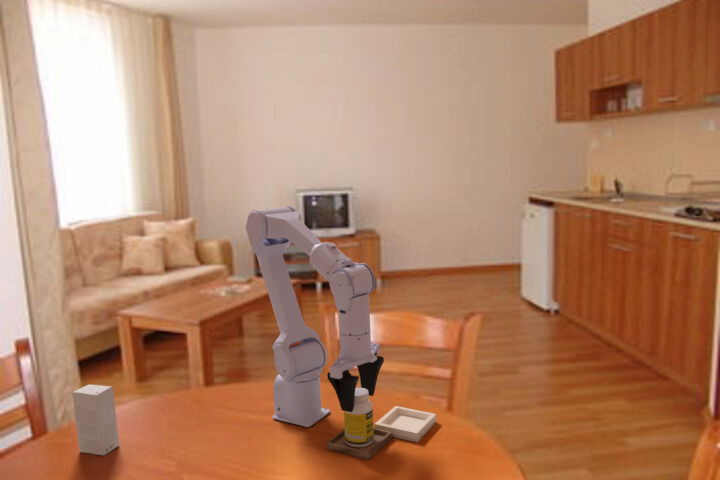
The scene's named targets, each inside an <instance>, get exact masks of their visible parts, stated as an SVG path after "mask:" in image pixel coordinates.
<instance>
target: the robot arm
mask: <svg viewBox="0 0 720 480" xmlns="http://www.w3.org/2000/svg"><path fill="white" fill-rule="evenodd" d="M245 230H246V234H247V237H248V240H249V244H250V246H251V250H252V252H253V253H254V254H255V255H256V258H257V262H258V264H259V268H260V271H261V275H262V278H263V281H264V284H265V287H266V290H267V294H268V297H269V300H270V304H271V307H272V310H273V314H274V316H275V318H276V322H277V323H276V324H277V326H278V329H279V332H280V334H279V336H278V337H277V338H276V340H275V341H274V342H273V344H272V347H271V348H272V351H273V356H274V367H275V370H276V372H277V375H276V377H275V379H274V382H273V387H272V391H273V393H272V394H273V395H272V396H273V407H274V415H272V416H271V417H272V419H273V420H278V421H282V422H286V423H290V424H294V425H298V426H302V427H304V428H310V427H311V426H313V425H314V424H316V423H317V422H319V421H320V420H322V419H323V418H324V417H325V416H327V415H328V414H329V413H331V410H330V409H329V408H324V407H322V396H321V379H320V378H321V376H320V374H322V373H323V368H324V367H326V364H327V362H328V352H327V348H326V347H325V345H324V344H323V342H322V341H321V339H320V337H319V333H318V332H317V330H314V329H312V327H309V326H307V325H306V324H305V321H304V317H303V315H302V312H301V308H300V305H299V302H298V299H297V296H296V292H295V289H294V287H293V283H292V280H291V277H290V274H289V271H288V270H289V269H288V267H287V264H286V261H285V259H284V253H285V250H287V249H288V248H289V247H290V246H291V244H293V245H295V246H296V247H297V248H298V249H300V250H301V251H303V252H304V253H305V254H306V255H307V256H309V264H310V266H311V267H312V268H313V269H314V270H315V271H316V272H318V273H319V275H321V276H322V277H323V278H324V279H325V280H326V281H327V282H328V283H329V289H330V292H331V294H332V296H333V298H334V305H335V308H336V309H337V312H338V313H337V314H338V317H337V318H338V336H339V337H338V338H339V355H338V357H337V358H336V359H335V361H334V362H333V364H332V365H330V366H329V372H328V373H327V381H328V382H329V383H330V384H331V386H332V387H333V389H334V392H335V394H336V396H337V399H338V403H339V405H340V409H341V411H343V412H344V411H347V412H352V411H353V409H354V398H355V389H356V388H357V384H358V382H360V388H365V389H367V390H368V392H369V397H373V396H374V395H375V392H376V391H375V390H376V387H377V381H378V377H379V374H380V370H381V368H382V366H383V365H384V362H385V358H384V356H382V355H379V354H380V353H381V352H380V351H381V350H380V343H378V342H377V343H376V342H372V338H371V335H372V333H371V331H372V330H371V316H370V315H371V314H370V313H371V312H370V311H371V310H370V294H371V293H372V292H374V289H375V287H376V277H375V273H374V271H373V270H372V268H370V266H369V265H368V264H367V263H365V262H360V263H358V262H357V261H355V262H354V261H353V259H351V258H350V257H348V256H347V254H345V253H344V252H342V251H341V250H340V248H338V247H337V244H335V243H334V242H330V241H329V242H328V241H324V242H322V241H321V240H320V238H318V237H317V236H316V234H314V233H313V232H312V231H311V229H309V227H308V226H307V225H306V224H304V222H303V220H302V215H301V213H300V212H299V211H297V210H296V209H295V208H294V206H292V205H291V206H290V205H288V206H287V205H286V206H284V207H274V208H267V209H264V208H263V209H252V210H251V211H250V212H249V214H248V217H247V220H246V224H245ZM296 343H298V344H296ZM293 344H294V345H293ZM356 367H357V370H358V374H359V376H358V375H352V373H351V372H350V370H352V369H354V368H356ZM359 380H360V381H359Z"/></svg>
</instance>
